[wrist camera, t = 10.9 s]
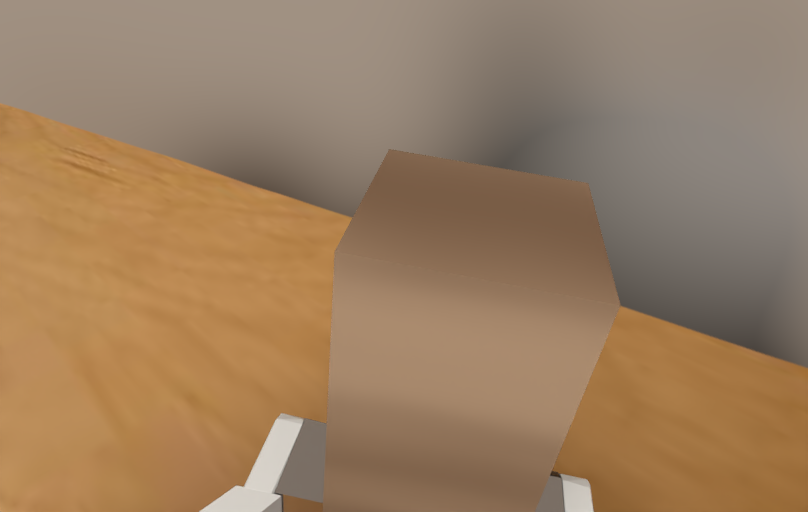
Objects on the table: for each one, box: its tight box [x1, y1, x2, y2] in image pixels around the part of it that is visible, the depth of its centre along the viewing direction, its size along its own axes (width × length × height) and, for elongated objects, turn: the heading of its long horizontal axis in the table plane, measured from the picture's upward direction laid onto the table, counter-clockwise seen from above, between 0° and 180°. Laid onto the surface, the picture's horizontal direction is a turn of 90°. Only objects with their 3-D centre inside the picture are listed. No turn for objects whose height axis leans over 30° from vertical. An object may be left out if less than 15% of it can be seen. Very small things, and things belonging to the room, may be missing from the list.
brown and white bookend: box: [323, 149, 620, 512], centre depth 13 cm, size 10×6×13 cm, turn 170°
